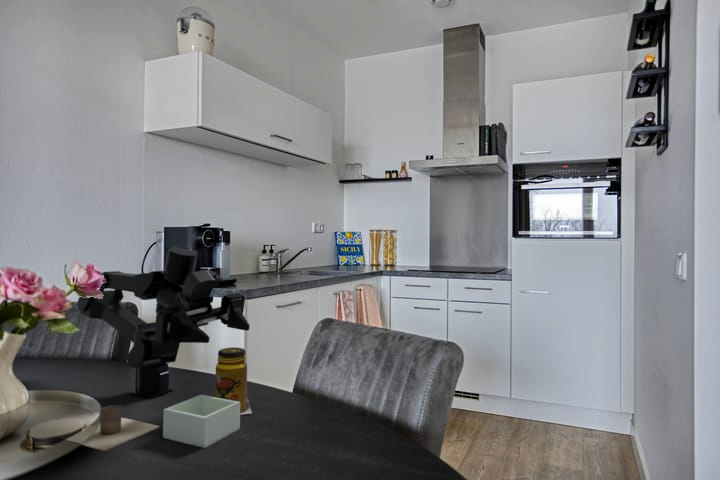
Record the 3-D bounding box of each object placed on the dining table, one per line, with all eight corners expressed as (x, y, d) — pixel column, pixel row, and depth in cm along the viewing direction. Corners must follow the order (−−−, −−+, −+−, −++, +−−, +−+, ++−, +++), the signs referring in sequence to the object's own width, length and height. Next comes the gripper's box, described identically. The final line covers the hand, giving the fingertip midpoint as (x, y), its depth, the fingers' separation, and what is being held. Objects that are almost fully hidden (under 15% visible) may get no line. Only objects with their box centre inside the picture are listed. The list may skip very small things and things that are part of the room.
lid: (58, 442, 82) (59, 413, 82) (115, 420, 92) (116, 394, 92) (104, 454, 77) (104, 424, 77) (159, 430, 87) (159, 403, 87)
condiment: (212, 418, 92) (213, 354, 92) (212, 403, 101) (213, 345, 101) (251, 414, 95) (253, 352, 95) (248, 400, 103) (249, 343, 103)
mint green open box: (163, 438, 83) (163, 409, 83) (200, 421, 91) (201, 394, 91) (204, 449, 79) (205, 418, 79) (239, 430, 87) (240, 402, 87)
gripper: (141, 272, 91) (189, 304, 82) (224, 259, 106) (272, 285, 97) (136, 326, 94) (183, 363, 85) (218, 307, 109) (265, 336, 100)
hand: (229, 333), depth 92 cm, fingers open, 9 cm apart
